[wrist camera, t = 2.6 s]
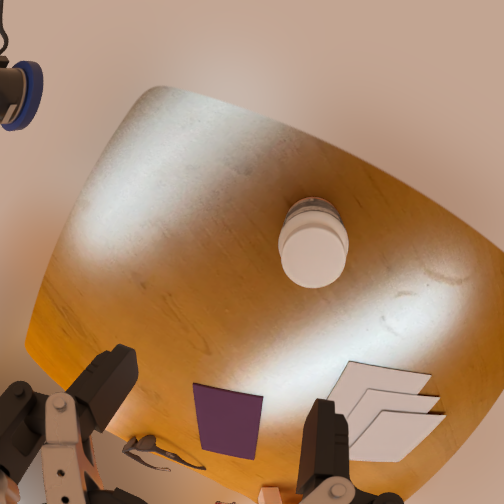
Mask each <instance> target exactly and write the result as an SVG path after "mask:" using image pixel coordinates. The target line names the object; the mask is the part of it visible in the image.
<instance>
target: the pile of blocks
mask: <svg viewBox="0 0 504 504" xmlns="http://www.w3.org/2000/svg"><path fill="white" fill-rule="evenodd" d="M258 502H259V504H282V500H281V496H280V493H279V489H278V487H262V488H261V491H260V494H259V496H258Z"/></svg>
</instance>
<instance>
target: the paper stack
mask: <svg viewBox="0 0 504 504" xmlns="http://www.w3.org/2000/svg"><path fill="white" fill-rule="evenodd" d="M431 376H432V375H426V374H419V373H412V372H406V371H399V370H393V369H387V368H381V367H376V366H370V365H365V364H360V363H355V362H350V361H349V363H348V365H347V366H346V368H345V370H344V372H343V373H342V375H341V377H340V379H339V380H338V382H337V384H336V385H335V387H334V389H333V390H332V392H331V394H330V395H329V397H328V399H327V400H332V401H334V402H335V413H337V414H343V415H344V417H345V419H346V421H347V423H348V428H349V435H348V437H349V444H348V445H349V460H357V461H375V462H399V461H400V460H401V459H403V458H404V457H405V456H406V455H407V454H408V453H409V452H411V451H412V450H413V449H414V448H415V447H416V446H417V445H418V444H419V443H420V442H421V441H422V440H423V439H424V438H425V437H426V436H427V435H428V434H429V433H430V432H431V431H432V430H433V429H434V428H435V427H436V426H437V425H438V424H439V423H440V422H441V421H442V420H443V419H444V418H445V417H446V416H447V415H426V414H427V413H428V411H429V410H430V409H431V408H432V407H433V406H434V405H435V403H436V402H437V401H438V400H439V399H440V397H429V396H418V395H417V394H418V393H419V392H420V390H421V389H422V388H423V387H424V385H425V384H426V383H427V381H428V380H429V378H430V377H431Z"/></svg>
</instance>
